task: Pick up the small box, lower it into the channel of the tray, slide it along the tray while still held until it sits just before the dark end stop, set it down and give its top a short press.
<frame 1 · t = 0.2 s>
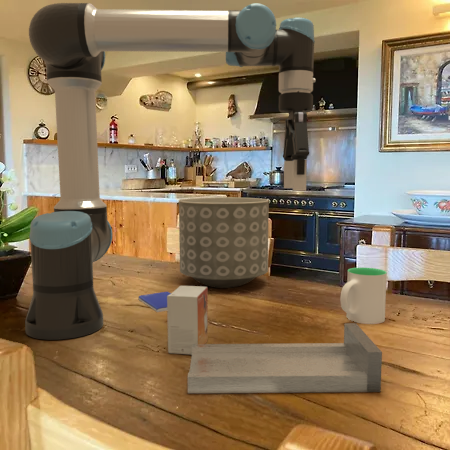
hand: (294, 189, 108), 28 cm above the table, fingers open, 13 cm apart
small box: (188, 347, 87), on the table
planter: (223, 284, 136), on the table
hard drive: (163, 306, 116), on the table
tray: (278, 373, 75), on the table
mug: (360, 320, 103), on the table
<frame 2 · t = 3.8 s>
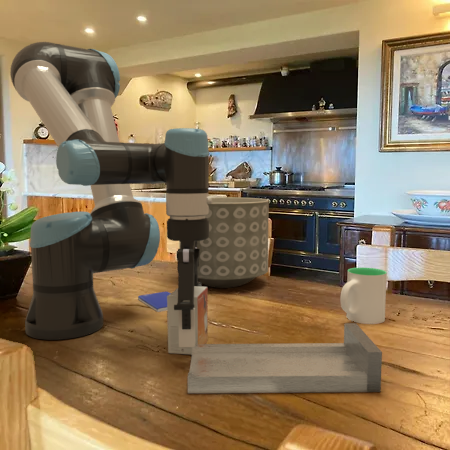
hand: (189, 333, 87), 3 cm above the table, fingers open, 13 cm apart
nothing on the table moved.
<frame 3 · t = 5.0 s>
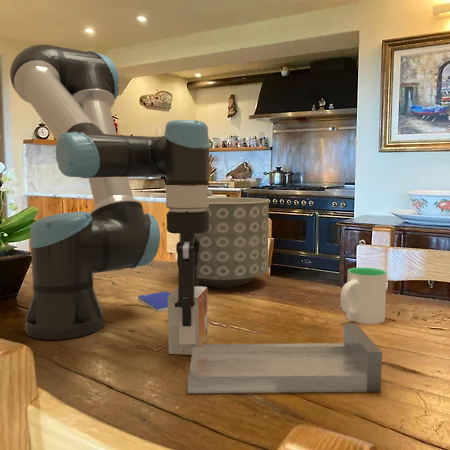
hand: (189, 334, 86), 3 cm above the table, fingers open, 9 cm apart
small box: (188, 348, 87), on the table, touching gripper
everything else where it was.
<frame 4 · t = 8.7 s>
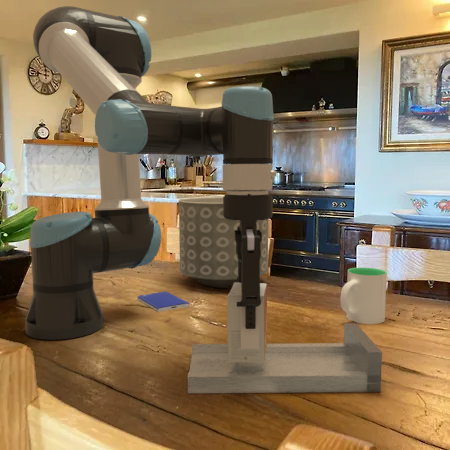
hand: (247, 337, 75), 6 cm above the table, fingers closed on small box, 8 cm apart
small box: (248, 354, 75), point 3 cm above the table, touching gripper
everything else where it was.
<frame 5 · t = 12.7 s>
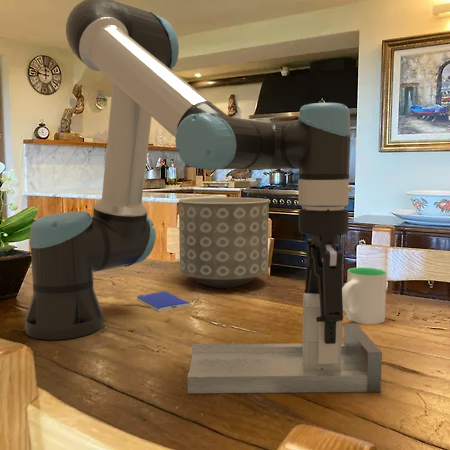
hand: (321, 350, 75), 4 cm above the table, fingers closed on small box, 8 cm apart
small box: (320, 365, 75), point 1 cm above the table, touching gripper, tray
everything else where it was.
when the fingers open (4 cm above the table, at t = 12.9 s): small box stays where it is, resting on tray.
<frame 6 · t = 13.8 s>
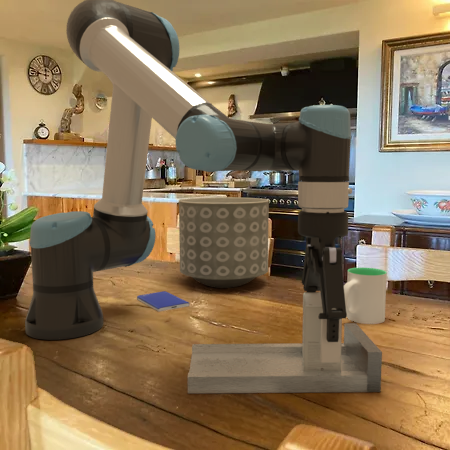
hand: (320, 344, 75), 5 cm above the table, fingers open, 13 cm apart
small box: (320, 365, 75), point 1 cm above the table, touching tray
everything else where it was.
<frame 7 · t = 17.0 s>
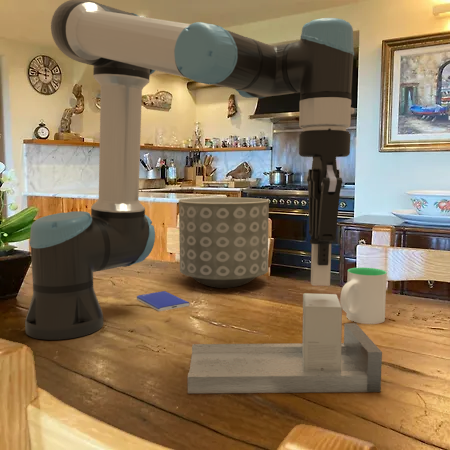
hand: (320, 284, 74), 14 cm above the table, fingers closed
nothing on the table moved.
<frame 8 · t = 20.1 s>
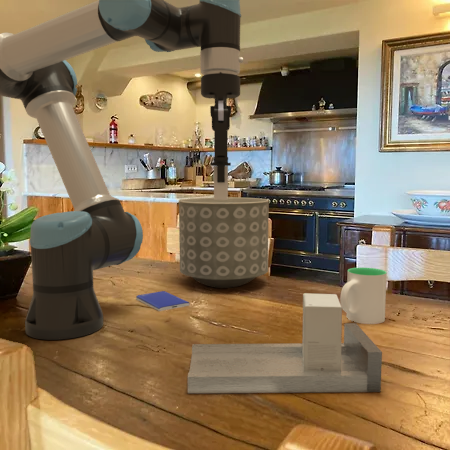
hand: (220, 199, 93), 26 cm above the table, fingers closed
nothing on the table moved.
at the end: small box inside the target area on the tray (1.2 cm from its centre), point 1.3 cm above the tray's base; small box tilted 0°; the gripper is holding nothing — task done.
